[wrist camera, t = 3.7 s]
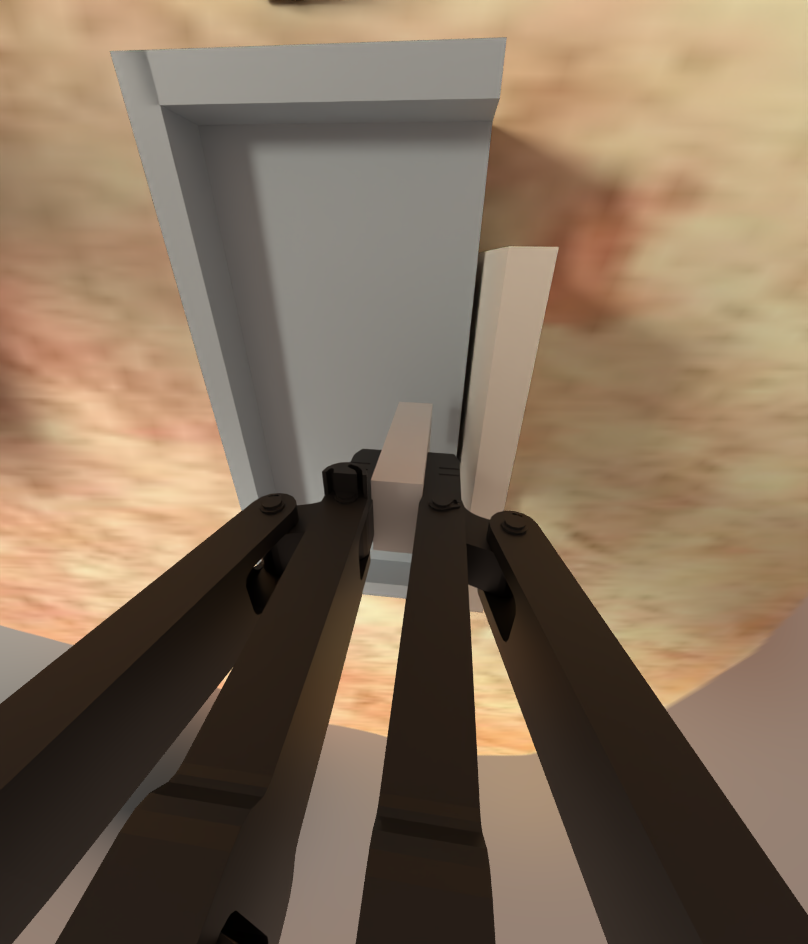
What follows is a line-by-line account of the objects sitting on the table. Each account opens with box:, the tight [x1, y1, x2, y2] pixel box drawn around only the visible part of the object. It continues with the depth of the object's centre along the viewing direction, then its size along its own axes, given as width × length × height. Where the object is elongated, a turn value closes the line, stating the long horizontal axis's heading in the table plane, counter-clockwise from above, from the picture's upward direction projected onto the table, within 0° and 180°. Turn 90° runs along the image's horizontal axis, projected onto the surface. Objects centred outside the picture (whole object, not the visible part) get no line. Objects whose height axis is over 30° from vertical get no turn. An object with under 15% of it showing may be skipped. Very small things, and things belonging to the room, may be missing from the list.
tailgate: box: [456, 246, 559, 613], centre depth 17 cm, size 1×14×11 cm, turn 179°
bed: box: [110, 37, 507, 599], centre depth 19 cm, size 12×24×7 cm, turn 179°
